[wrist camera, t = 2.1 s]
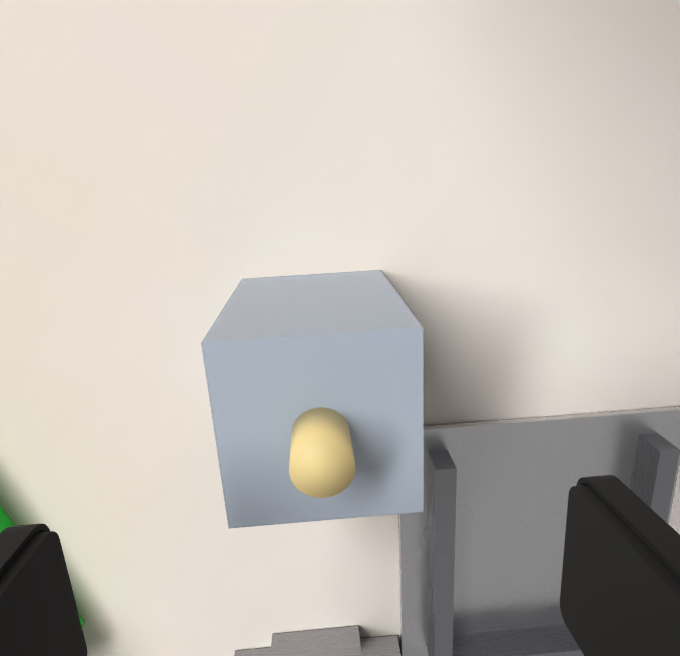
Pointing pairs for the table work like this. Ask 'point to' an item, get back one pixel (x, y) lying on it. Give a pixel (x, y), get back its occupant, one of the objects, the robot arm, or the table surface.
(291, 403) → the light blue block
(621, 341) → the table surface
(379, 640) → the copper disc holder
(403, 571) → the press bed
